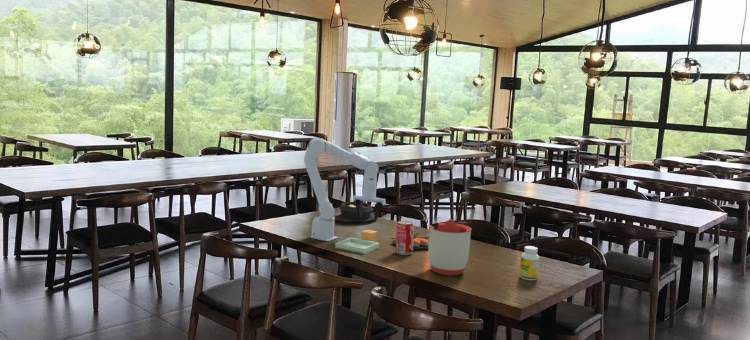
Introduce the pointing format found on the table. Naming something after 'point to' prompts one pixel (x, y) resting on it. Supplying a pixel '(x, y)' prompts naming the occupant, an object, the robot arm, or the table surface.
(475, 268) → the table surface
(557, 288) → the table surface
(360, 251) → the tray
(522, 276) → the pill bottle
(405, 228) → the soda can
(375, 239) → the tan block
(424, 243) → the sushi plate
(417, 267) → the table surface
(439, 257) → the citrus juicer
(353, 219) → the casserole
